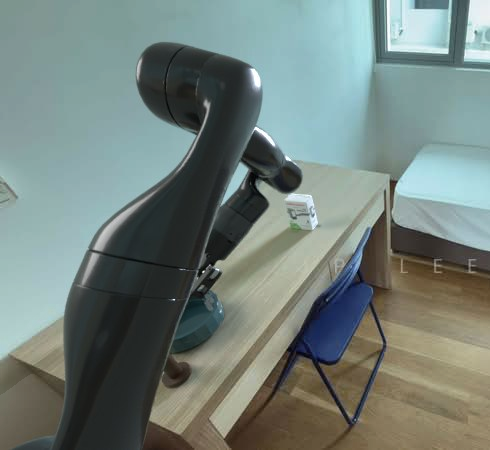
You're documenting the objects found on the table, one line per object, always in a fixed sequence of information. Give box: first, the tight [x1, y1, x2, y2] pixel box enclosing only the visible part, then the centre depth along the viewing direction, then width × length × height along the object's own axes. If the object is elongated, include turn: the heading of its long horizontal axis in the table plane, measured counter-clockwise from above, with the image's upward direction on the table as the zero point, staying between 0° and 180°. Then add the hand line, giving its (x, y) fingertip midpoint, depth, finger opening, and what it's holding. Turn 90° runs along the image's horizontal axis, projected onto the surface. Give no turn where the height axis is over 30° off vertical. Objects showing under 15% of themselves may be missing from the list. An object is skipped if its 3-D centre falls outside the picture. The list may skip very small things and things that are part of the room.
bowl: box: [169, 288, 225, 354], centre depth 75 cm, size 16×16×5 cm
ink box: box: [283, 193, 319, 231], centre depth 108 cm, size 9×5×12 cm, turn 78°
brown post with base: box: [161, 353, 193, 389], centre depth 62 cm, size 5×5×15 cm
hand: (160, 300), depth 57 cm, fingers open, 8 cm apart
